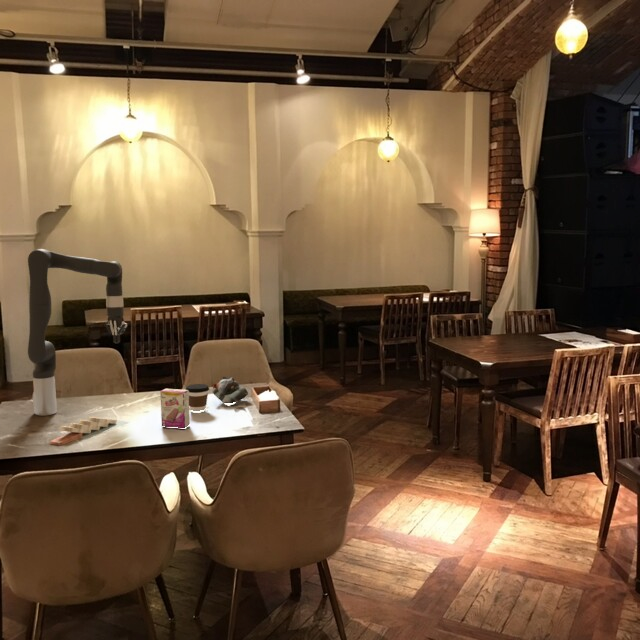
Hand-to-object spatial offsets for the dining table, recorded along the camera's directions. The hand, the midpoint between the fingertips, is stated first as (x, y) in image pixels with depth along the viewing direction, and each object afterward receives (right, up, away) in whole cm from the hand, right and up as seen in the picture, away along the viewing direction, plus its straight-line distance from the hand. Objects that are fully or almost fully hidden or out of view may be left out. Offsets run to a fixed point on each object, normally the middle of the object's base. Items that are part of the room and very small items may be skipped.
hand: (116, 342), depth 324 cm
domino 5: (+3, -34, -17) cm, 38 cm away
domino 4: (0, -34, -21) cm, 40 cm away
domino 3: (-2, -35, -26) cm, 43 cm away
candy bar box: (+31, -36, -22) cm, 52 cm away
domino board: (-1, -36, -24) cm, 44 cm away
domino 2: (-4, -36, -30) cm, 47 cm away
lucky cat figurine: (+50, -30, +17) cm, 61 cm away
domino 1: (-6, -36, -34) cm, 50 cm away
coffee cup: (+37, -32, +2) cm, 49 cm away
